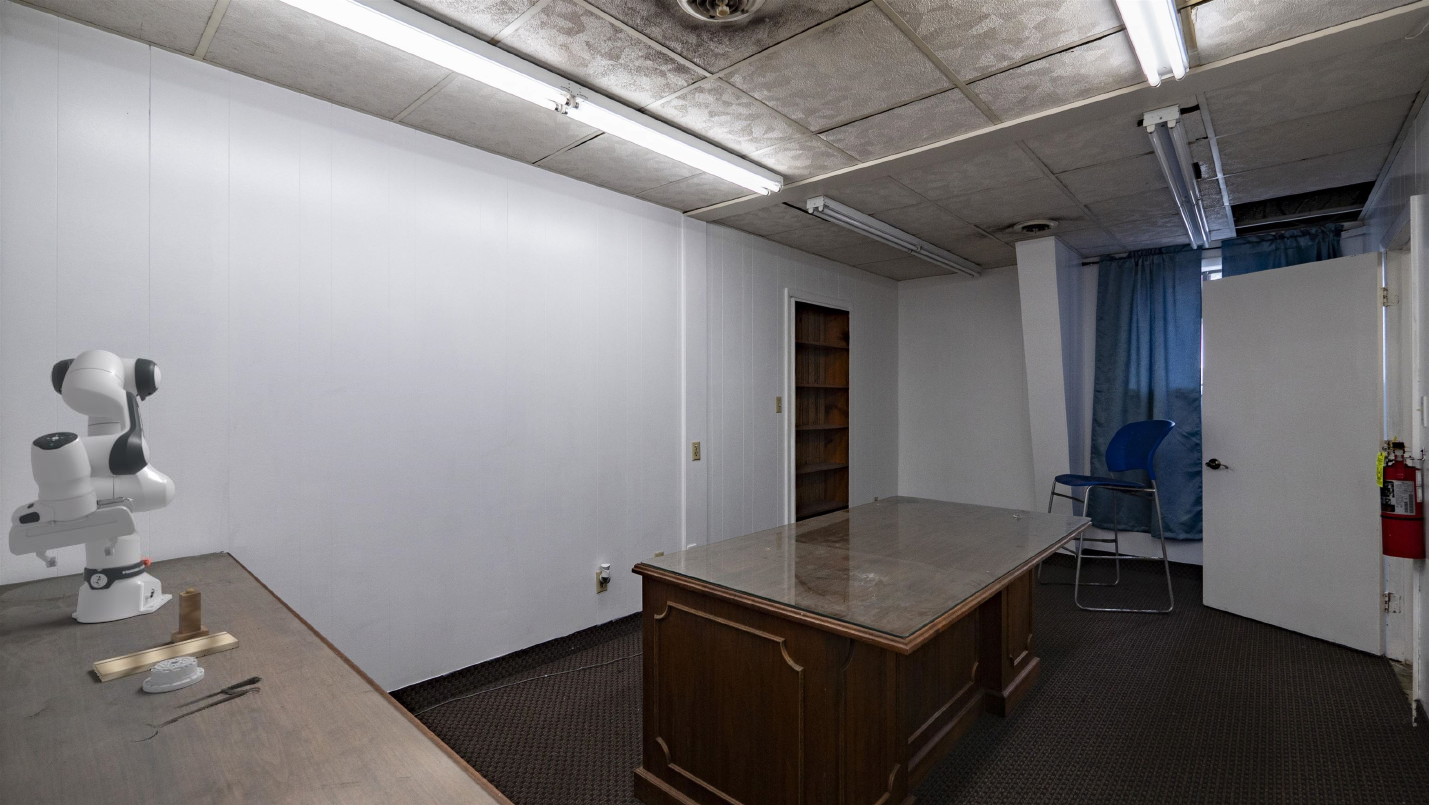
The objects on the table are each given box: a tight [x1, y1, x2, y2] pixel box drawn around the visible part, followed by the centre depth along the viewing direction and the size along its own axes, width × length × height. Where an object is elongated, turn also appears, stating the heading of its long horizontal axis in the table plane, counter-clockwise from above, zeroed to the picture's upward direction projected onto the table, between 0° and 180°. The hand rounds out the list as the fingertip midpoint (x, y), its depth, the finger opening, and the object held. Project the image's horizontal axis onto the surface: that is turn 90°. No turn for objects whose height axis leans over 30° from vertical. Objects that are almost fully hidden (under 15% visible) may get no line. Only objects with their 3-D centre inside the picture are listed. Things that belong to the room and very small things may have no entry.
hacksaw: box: [131, 676, 262, 743], centre depth 122 cm, size 24×10×2 cm, turn 151°
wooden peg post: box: [170, 588, 210, 643], centre depth 156 cm, size 6×6×13 cm
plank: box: [92, 631, 240, 683], centre depth 146 cm, size 24×10×2 cm, turn 143°
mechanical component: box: [142, 656, 205, 694], centre depth 133 cm, size 10×4×10 cm
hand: (81, 560), depth 143 cm, fingers open, 8 cm apart
